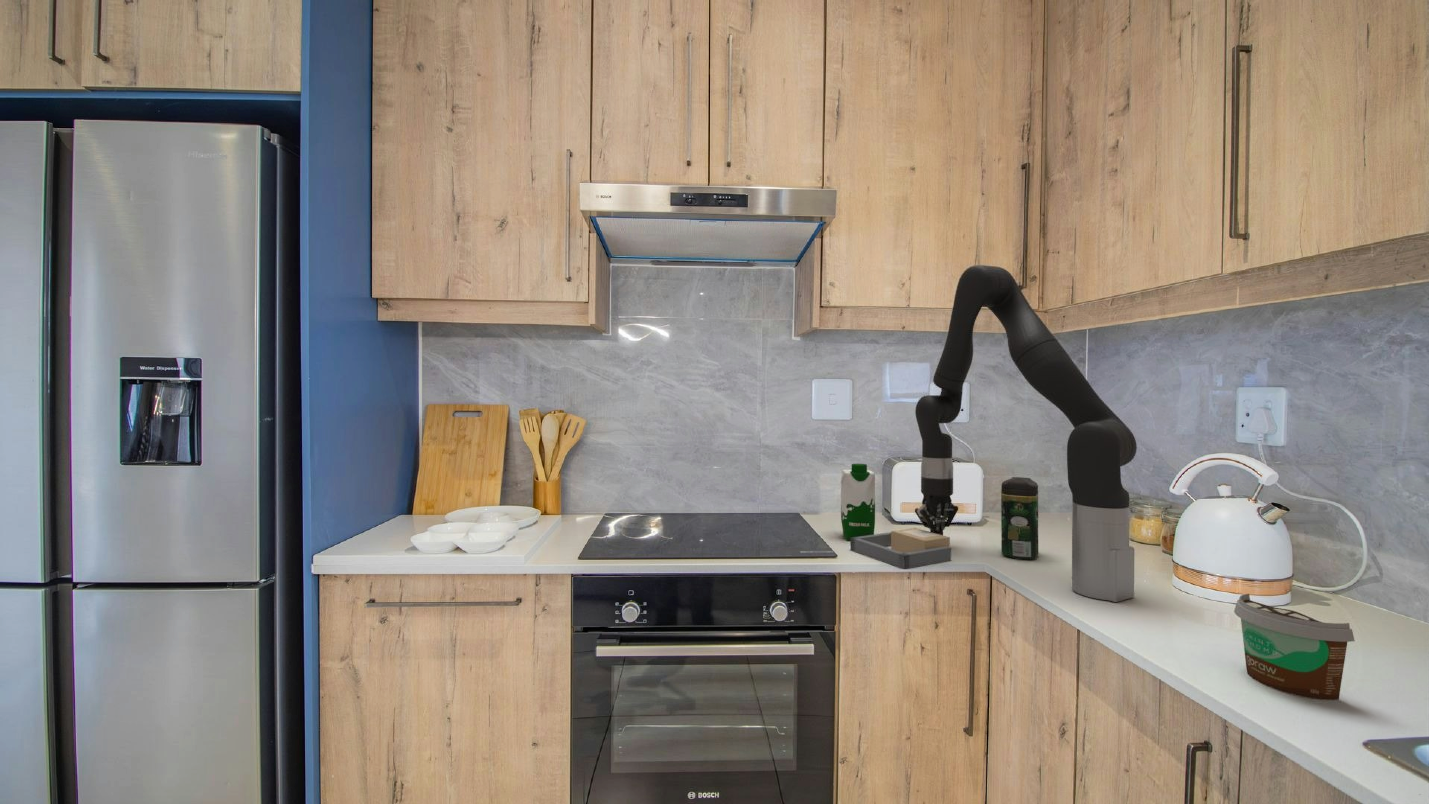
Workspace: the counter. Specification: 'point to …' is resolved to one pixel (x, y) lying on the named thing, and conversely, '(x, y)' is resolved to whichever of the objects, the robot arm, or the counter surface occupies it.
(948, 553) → the grey u-shaped bracket
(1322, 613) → the counter surface
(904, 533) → the carton
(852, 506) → the milk carton
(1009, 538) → the coffee jar
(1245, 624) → the food container
